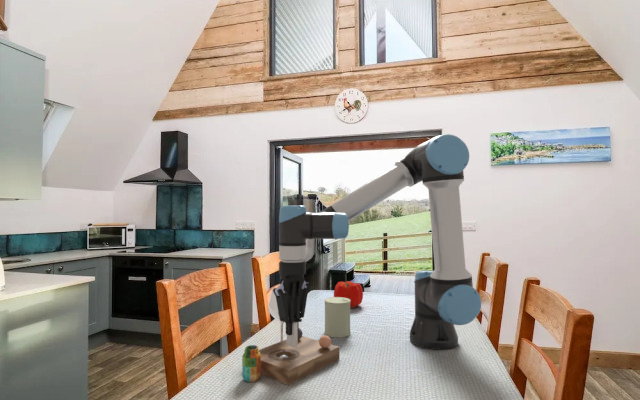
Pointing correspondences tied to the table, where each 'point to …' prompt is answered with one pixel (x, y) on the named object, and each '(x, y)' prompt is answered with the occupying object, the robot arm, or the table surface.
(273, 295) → the wineglass
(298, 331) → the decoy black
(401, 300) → the table surface
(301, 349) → the wooden block with hole
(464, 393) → the table surface
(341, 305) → the can
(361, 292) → the red bell pepper
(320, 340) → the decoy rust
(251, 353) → the jar
